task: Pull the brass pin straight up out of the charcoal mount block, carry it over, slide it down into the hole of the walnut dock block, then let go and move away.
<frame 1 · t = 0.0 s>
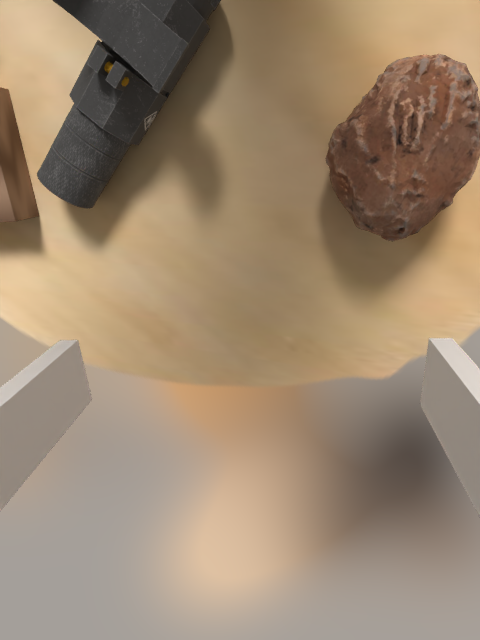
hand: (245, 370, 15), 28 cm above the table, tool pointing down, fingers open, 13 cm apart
laser sight: (139, 90, 37), on the table
decorative rock: (386, 153, 37), on the table
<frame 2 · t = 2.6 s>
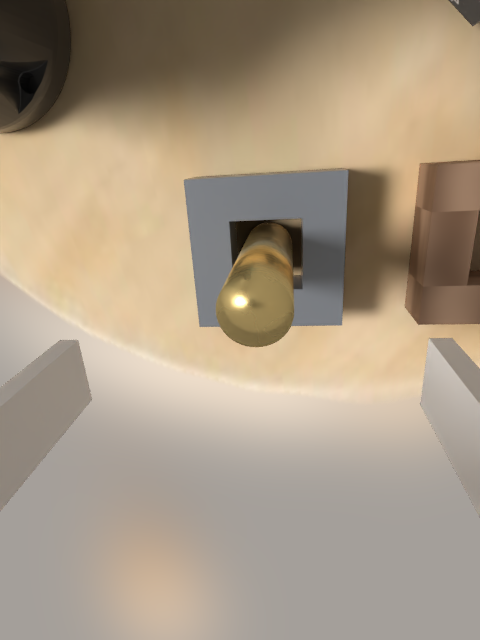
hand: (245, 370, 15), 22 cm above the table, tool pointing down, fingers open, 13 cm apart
mount block: (269, 245, 35), on the table
brass pin: (263, 269, 27), in the mount block
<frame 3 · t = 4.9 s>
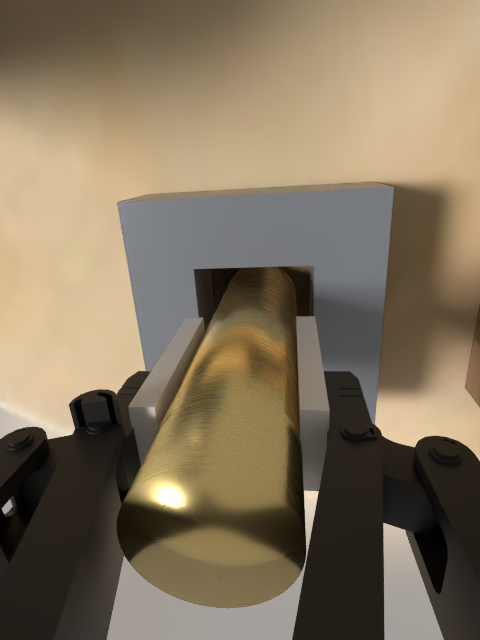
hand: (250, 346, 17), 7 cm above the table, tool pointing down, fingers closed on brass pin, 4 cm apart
mount block: (261, 296, 23), on the table
brass pin: (247, 361, 16), in the mount block, touching gripper
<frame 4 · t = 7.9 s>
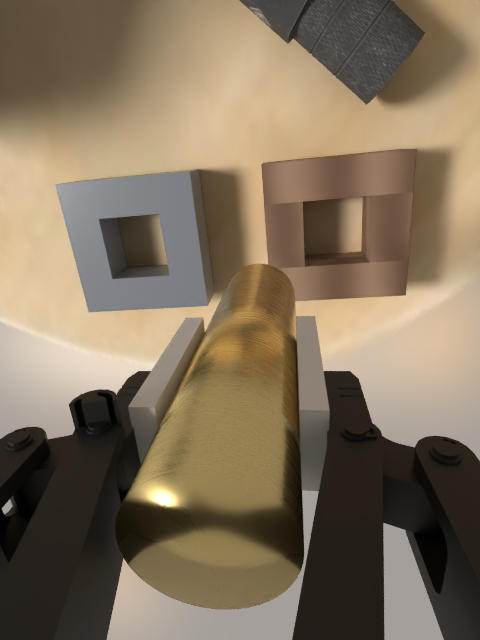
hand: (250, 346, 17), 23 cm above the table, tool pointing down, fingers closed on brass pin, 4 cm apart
dock block: (331, 224, 37), on the table
mount block: (148, 238, 39), on the table
brass pin: (246, 363, 16), point 25 cm above the table, touching gripper
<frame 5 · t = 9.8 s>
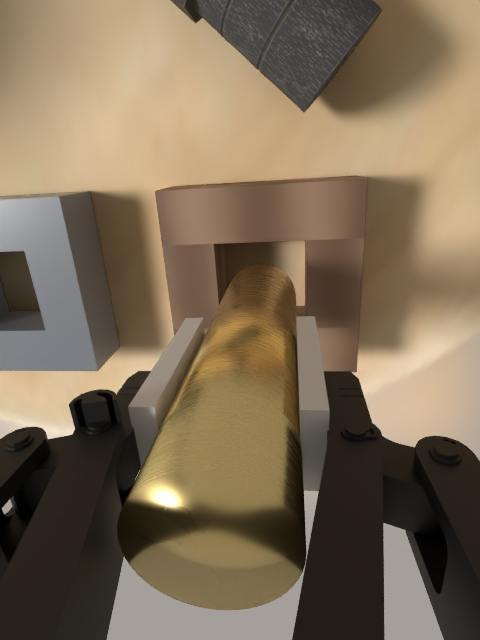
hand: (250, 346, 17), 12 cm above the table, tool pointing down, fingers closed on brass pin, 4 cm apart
dock block: (265, 270, 28), on the table
mount block: (32, 276, 30), on the table
brass pin: (247, 363, 16), point 14 cm above the table, touching gripper
when the fingers open (8 cm above the table, at t = 11.2 s): brass pin drops 1 cm, resting in dock block.
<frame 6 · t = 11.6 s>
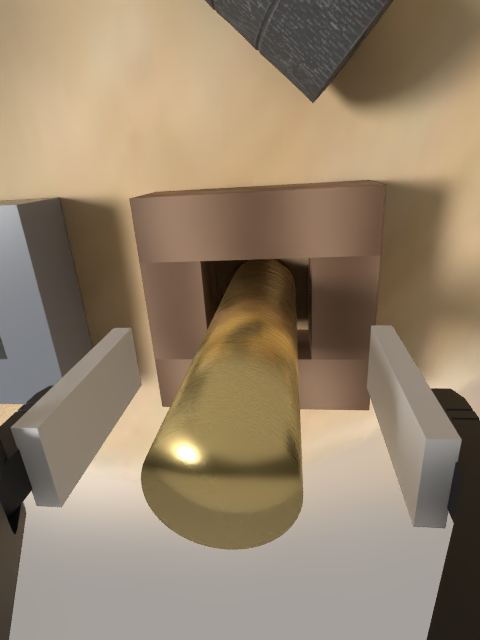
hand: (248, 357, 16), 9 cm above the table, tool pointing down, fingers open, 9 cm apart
dock block: (262, 288, 24), on the table
brass pin: (250, 346, 17), in the dock block
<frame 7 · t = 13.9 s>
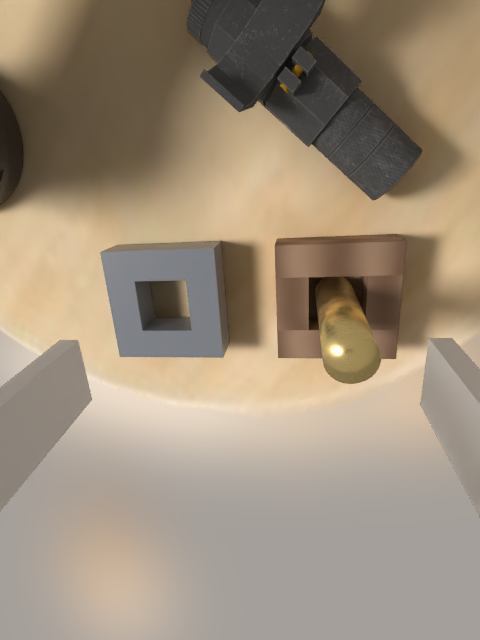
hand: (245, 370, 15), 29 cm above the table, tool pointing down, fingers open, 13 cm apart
laser sight: (302, 93, 37), on the table
dock block: (334, 292, 43), on the table
mount block: (174, 295, 45), on the table
brass pin: (340, 318, 35), in the dock block
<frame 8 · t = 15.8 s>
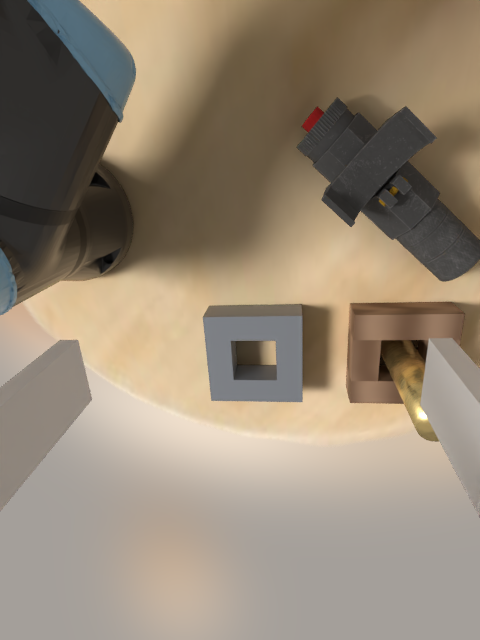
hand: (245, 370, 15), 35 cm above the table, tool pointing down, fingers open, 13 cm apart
laser sight: (381, 189, 44), on the table
dock block: (395, 346, 51), on the table
mount block: (256, 346, 53), on the table
brass pin: (413, 378, 43), in the dock block
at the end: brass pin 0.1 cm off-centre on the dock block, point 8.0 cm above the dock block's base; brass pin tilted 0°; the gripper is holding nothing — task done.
